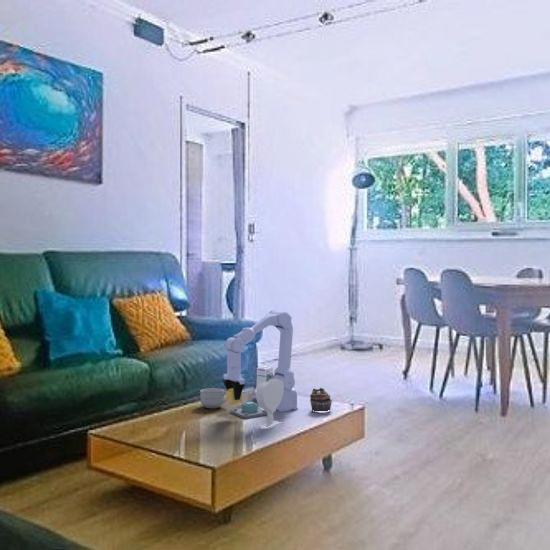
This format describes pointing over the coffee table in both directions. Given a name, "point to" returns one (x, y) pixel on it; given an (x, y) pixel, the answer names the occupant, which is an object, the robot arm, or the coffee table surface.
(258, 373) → the syrup box
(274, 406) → the heart sculpture
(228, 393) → the ochre brick
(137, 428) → the coffee table surface
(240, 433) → the coffee table surface
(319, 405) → the cupcake
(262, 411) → the base plate
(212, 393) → the teacup
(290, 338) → the robot arm
